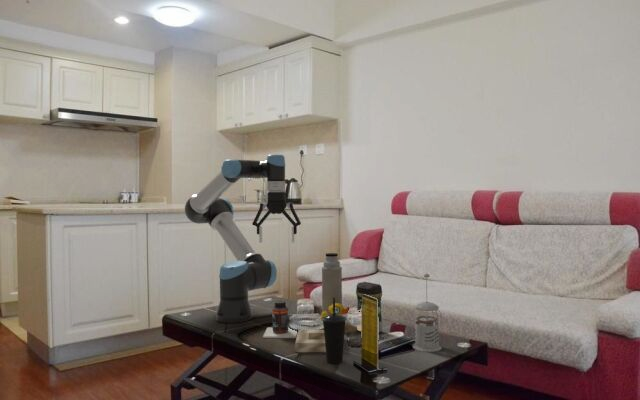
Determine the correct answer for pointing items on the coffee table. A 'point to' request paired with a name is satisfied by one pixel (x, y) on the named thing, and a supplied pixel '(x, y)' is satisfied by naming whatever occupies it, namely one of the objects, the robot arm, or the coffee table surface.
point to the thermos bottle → (331, 282)
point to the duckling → (336, 310)
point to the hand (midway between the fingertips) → (276, 242)
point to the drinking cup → (334, 336)
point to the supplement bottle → (280, 317)
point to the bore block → (310, 341)
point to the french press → (427, 327)
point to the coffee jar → (370, 290)
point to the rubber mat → (271, 334)
